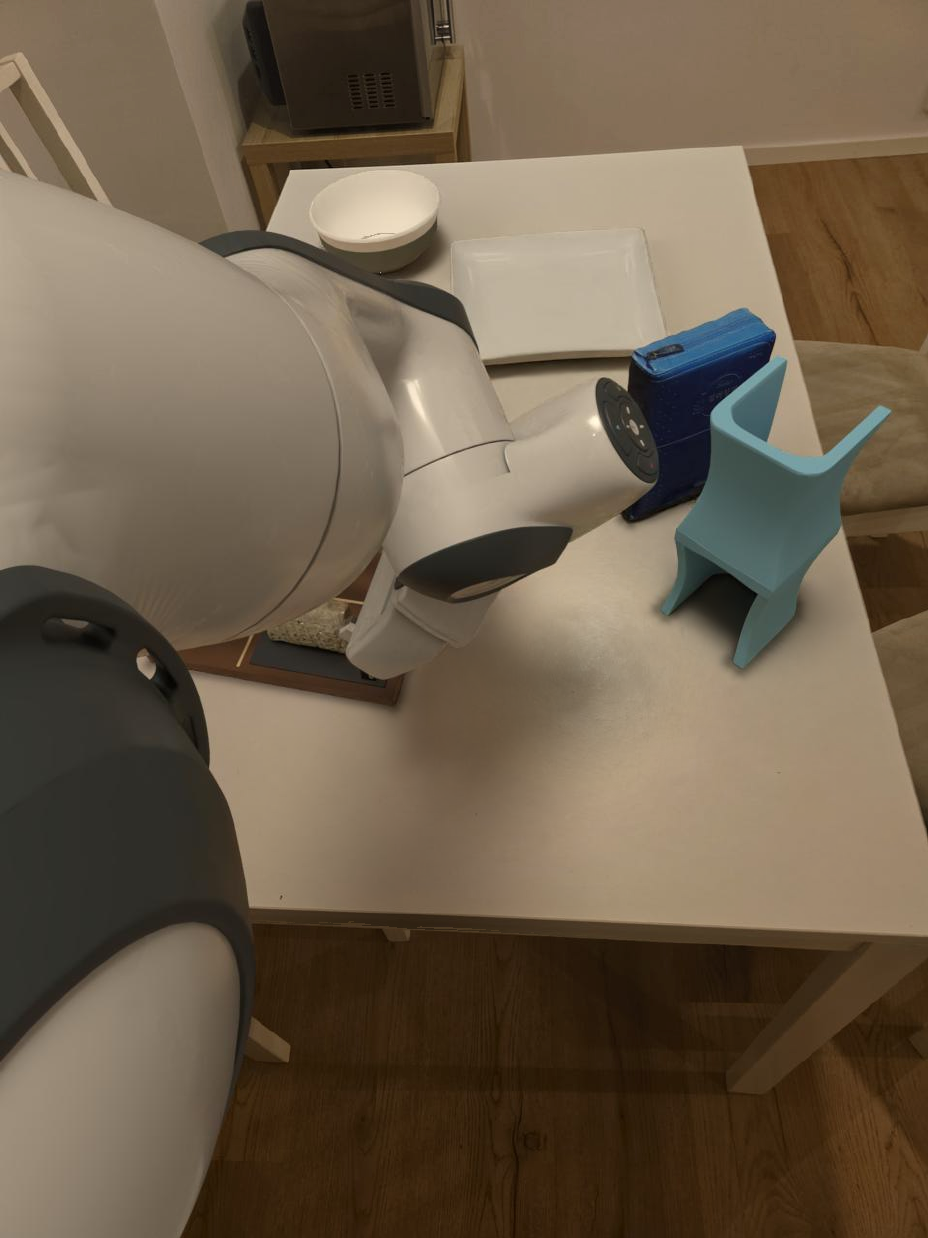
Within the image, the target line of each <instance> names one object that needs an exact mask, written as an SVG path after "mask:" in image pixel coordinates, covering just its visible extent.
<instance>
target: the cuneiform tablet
mask: <svg viewBox="0 0 928 1238" xmlns="http://www.w3.org/2000/svg"><path fill="white" fill-rule="evenodd" d="M351 615H353V613H352V611H351V608H350V605H349V604H348V603H347V602H341V601H338V600H335V599H331V600H330V601H328V602H327V603H325V604H323V605H322V606H320V607H318V608H316V609H314V610H312V611H310V612H308V613H306V614H304V615H302V616H300V617H298V618H296V619H293V620H291V621H289V622H286V623H284V624H282V625H279V626H276V627H274V628H271V629H268V630H267V633H268V636H269V638H270V639H271V640H275V641H279V640H281V641H285V642H290V643H293V644H298V645H306V646H313V647H320V648H322V649H328V650H331V651H338V652H340V653H344V654H346V653H345V652H346V648H347V645H348V643H349V642H347V641H346V640H344V639H342V638H341V637H340V636H339V632H340V629H341V627H342V624H343V622H344V619H347V618H348V617H349V616H351ZM360 673H361V679H367V680H372V681H376V678H375V677H373V676H371V675H369V674H367V673H366V672H364V671H362V670H361V669H360Z"/></svg>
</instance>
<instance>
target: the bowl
mask: <svg viewBox="0 0 928 1238" xmlns="http://www.w3.org/2000/svg"><path fill="white" fill-rule="evenodd" d="M441 203H442V200H441V194H440V191H439V189H438V187H437V185H436V184H435V183H433V181H431V180H430V179H429V178H427V177H426V176H424V175H422V174H419V173H417V172H412V171H410V170H409V171H408V170H404V169H403V170H402V169H373V170H366V171H362V172H361V171H360V172H357V173H354V174H351V175H348V176H345V177H342V178H341V179H337V180H336V181H334V182H332V183H330V184H328V185H327V186H326V187H324V188H323V189H322V190H321V191H319V192H318V194H317V195H316V196H315V197H314V199H313V200H312V202H311V204H310V205H309V210H308V218H309V222H310V224H311V225H312V227H313V228H314V230H315V231H316V232H317V234H318V237H319V240H320V243H321V245H322V247H323V248H324V251H326V252H329V253H331V254H333V255H335V256H337V257H339V258H341V259H344V260H346V261H348V262H350V263H352V264H354V265H356V266H359V267H361V268H363V269H365V270H367V271H369V272H371V273H373V274H376V275H388V274H392V273H395V272H398V271H400V270H402V269H403V268H405V267H407V266H408V265H409V264H411V263H413V262H414V261H416V260H417V259H418V258H419V257H420V256H421V255H422V254H423V253H424V252H425V251H426V250H427V249H428V248H429V246H430V245H431V243H432V242H433V240H434V237H435V235H436V232H437V229H438V214H439V209H440V206H441ZM377 233H395V234H380V235H375V236H372V237H369V238H367V239H361V238H363V237H364V236H370V235H374V234H377ZM380 272H381V273H380Z"/></svg>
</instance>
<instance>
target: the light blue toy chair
mask: <svg viewBox="0 0 928 1238" xmlns="http://www.w3.org/2000/svg"><path fill="white" fill-rule="evenodd" d="M787 365H788V359H787V358H785V357H783V356H781V355H779V354H777V355H776V356H774V357H773V358H772V359H770V361H769V362H768V363H767V364H766V365H765V366H764V367H762V368H761V369H760V370H759V371H757V372H756V373H755V374H754V375H753V376H751V377H750V378H749V379H748V380H747V381H745V382H744V383H743V384H742V385H740V386H739V387H738V388H737V389H736V390H734V391H733V392H732V393H731V394H729V395H728V396H727V397H726V398H725V399H723V400H722V401H721V402H720V403H719V404H718V405H717V406H716V407H715V408H714V409H713V411H712V412H711V415H710V426H711V461H710V469H709V473H708V478H707V481H706V483H705V486H704V488H703V490H702V493H700V494H699V496H698V498H697V500H696V501H695V503H694V505H693V506H692V507H691V509H690V510H689V512H688V513H687V515H686V516H685V517H684V518H683V520H682V521H681V522H680V523H679V525H678V526H677V527H676V529H675V533H674V538H673V539H674V543H675V548H676V555H677V573H676V578H675V582H674V585H673V587H672V589H671V591H670V593H669V595H668V596H667V598H666V600H665V601H664V603H663V604H662V606H661V607H660V609H659V612H661V613H662V614H664V615H665V616H667V617H668V616H669V615H670V614H672V613H673V611H675V610H676V609H677V608H679V606H680V605H681V604H682V603H683V602H684V601H686V599H688V597H690V596H691V595H692V594H693V593H694V592H695V591H697V590H698V588H699V587H701V585H703V584H704V583H705V582H706V581H707V580H708V579H709V578H710V577H711V576H714V575H716V574H730V575H731V576H733V577H734V578H735V579H737V580H738V581H739V582H740V583H742V584H743V585H744V586H746V587H747V588H748V589H750V590H751V591H753V592H755V593H756V594H757V595H756V597H755V599H754V601H753V602H752V605H751V607H750V608H749V611H748V613H747V615H746V618H745V620H744V623H743V626H742V629H741V632H740V635H739V638H738V642H737V645H736V649H735V654H734V657H733V660H732V663H733V664H734V665H736V666H737V667H739V668H740V669H741V670H744V669H745V668H746V667H747V666H748V665H749V664H750V662H751V661H752V660H754V658H755V657H756V656H758V655H759V654H760V652H761V651H762V650H763V649H764V648H766V646H767V645H769V643H770V642H771V641H772V640H773V639H774V638H775V637H776V636H777V635H778V634H779V633H780V632H781V631H783V629H784V628H785V627H786V626H787V625H788V624H789V623H790V622H791V620H792V619H793V618H794V616H795V614H796V610H797V603H798V596H799V592H800V588H801V585H802V582H803V580H804V577H805V576H806V574H807V572H808V570H809V569H810V567H811V566H812V565H813V563H814V562H815V561H816V559H817V558H818V557H819V556H820V555H821V553H822V552H823V551H824V550H825V548H826V547H827V546H828V545H829V544H830V543H831V542H832V541H833V540H834V538H835V537H836V536H837V535H838V534H839V532H840V529H841V527H842V525H843V523H842V516H841V515H842V513H841V494H842V487H843V485H844V482H845V478H846V475H847V474H848V472H849V471H850V468H851V466H852V465H853V463H854V461H855V460H856V459H857V457H858V455H859V454H860V452H861V451H862V450H863V448H864V447H865V446H866V445H867V444H868V442H869V440H870V439H871V438H872V437H873V436H874V435H875V433H876V432H877V431H878V430H879V428H880V427H881V426H882V425H883V424H884V423H885V421H886V420H887V419H888V418H890V416H891V414H892V412H893V410H891V409H889V408H887V407H885V406H883V405H881V404H880V405H878V406H876V408H875V409H874V410H872V411H871V412H870V413H869V414H868V415H867V416H866V417H865V418H864V419H863V420H862V421H860V423H858V424H857V425H856V426H855V427H854V428H853V429H852V430H851V431H849V432H848V434H847V435H845V436H844V437H843V438H842V439H841V440H840V441H839V442H838V443H837V444H836V445H835V446H833V448H831V449H830V450H829V451H828V452H826V453H825V454H824V455H821V456H802V455H796V454H792V453H789V452H786V451H784V450H782V449H780V448H778V447H777V446H774V445H773V444H770V443H768V440H769V437H770V434H771V431H772V426H773V423H774V419H775V416H776V412H777V408H778V405H779V401H780V397H781V393H782V388H783V384H784V380H785V376H786V371H787Z"/></svg>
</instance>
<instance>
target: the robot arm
mask: <svg viewBox="0 0 928 1238" xmlns="http://www.w3.org/2000/svg"><path fill="white" fill-rule="evenodd" d="M658 475H659V459H658V450H657V447H656V444H655V442H654V439H653V436H652V434H651V431H650V429H649V427H648V424H647V422H646V420H645V418H644V416H643V414H642V412H641V410H640V408H639V406H638V404H637V403H635V401H634V400H633V399H632V397H631V396H630V394H629V393H628V392H627V390H626V389H625V387H623V386H622V385H620V384H619V383H617V382H616V381H615V380H614V379H612V378H609V377H607V376H602V375H600V376H596V377H593V378H590V379H588V380H585V381H582V382H580V383H578V384H576V385H574V386H572V387H570V388H568V389H566V390H564V391H562V392H560V393H558V394H556V395H553V396H552V397H550V398H548V399H546V400H545V401H543V402H541V403H539V404H537V405H536V406H534V407H533V408H531V409H529V410H528V411H525V412H524V413H523V414H521V415H519V416H518V417H517V418H515V419H513V420H512V421H510V422H509V421H508V419H507V416H506V414H505V410H504V409H503V406H502V404H501V402H500V400H499V397H498V395H497V393H496V390H495V388H494V385H493V382H492V381H491V379H490V376H489V373H488V372H487V369H486V367H485V365H484V364H483V362H482V360H481V357H480V353H479V349H478V345H477V342H476V339H475V336H474V334H473V331H472V328H471V325H470V322H469V319H468V316H467V313H466V311H465V308H464V306H463V304H462V302H461V301H460V300H459V299H458V298H457V297H455V296H454V295H452V294H451V292H449V291H446V290H444V289H442V288H439V287H437V286H435V285H433V284H429V283H426V282H422V281H418V280H412V279H388V278H385V277H383V276H380V275H379V274H373V273H371V272H369V271H367V270H365V269H363V268H361V267H359V266H356V265H354V264H352V263H350V262H348V261H346V260H344V259H341V258H339V257H337V256H335V255H333V254H331V253H329V252H327V251H326V250H325V249H322V248H320V247H318V246H315V245H313V244H310V243H308V242H306V241H303V240H301V239H297V238H295V237H292V236H288V235H285V234H282V233H279V232H278V233H277V232H275V231H274V232H273V231H267V230H258V229H244V230H235V231H230V232H229V231H228V232H224V233H221V234H217V235H214V236H212V237H209V238H206V239H204V240H202V241H200V242H198V243H197V242H195V241H193V240H190V239H188V238H187V237H184V236H182V235H180V234H177V233H175V232H173V231H171V230H169V229H167V228H164V227H162V226H160V225H158V224H155V223H154V222H152V221H149V220H146V219H144V218H141V217H140V216H137V215H134V214H132V213H130V212H127V211H125V210H121V209H119V208H116V207H114V206H111V205H108V204H106V203H103V202H101V201H98V200H95V199H93V198H91V197H88V196H85V195H82V194H81V193H78V192H75V191H72V190H69V189H66V188H63V187H60V186H57V185H54V184H51V183H48V182H44V181H41V180H38V179H35V178H32V177H28V176H25V175H22V174H20V173H16V172H14V171H10V170H7V169H5V168H4V169H3V168H0V1238H181V1237H182V1234H183V1232H184V1230H185V1227H186V1226H187V1223H188V1221H189V1219H190V1216H191V1214H192V1212H193V1209H194V1207H195V1205H196V1202H197V1200H198V1197H199V1194H200V1192H201V1189H202V1187H203V1185H204V1182H205V1179H206V1176H207V1173H208V1170H209V1167H210V1164H211V1161H212V1159H213V1156H214V1151H215V1147H216V1145H217V1140H218V1138H219V1135H220V1133H221V1130H222V1127H223V1124H224V1121H225V1118H226V1115H227V1112H228V1109H229V1107H230V1104H231V1101H232V1098H233V1095H234V1092H235V1089H236V1085H237V1081H238V1077H239V1074H240V1072H241V1067H242V1064H243V1061H244V1057H245V1052H246V1047H247V1044H248V1039H249V1034H250V1030H251V1029H250V1028H251V1024H252V1017H253V1011H254V1004H255V996H256V995H255V994H256V981H257V980H256V979H257V977H256V976H257V964H256V963H257V962H256V952H255V942H254V932H253V931H254V930H253V923H252V916H251V910H250V903H249V895H248V889H247V880H246V876H245V870H244V865H243V860H242V859H243V858H242V854H241V851H240V845H239V841H238V835H237V830H236V826H235V825H236V824H235V821H234V817H233V815H232V810H231V808H230V805H229V802H228V800H227V798H226V796H225V794H224V792H223V790H222V788H221V787H220V785H219V783H218V781H217V779H216V778H215V776H214V774H213V773H212V771H211V769H210V764H211V748H210V738H209V737H210V736H209V731H208V725H207V719H206V714H205V711H204V707H203V703H202V701H201V700H202V699H201V696H200V694H199V691H198V689H197V686H196V684H195V680H194V679H193V677H192V675H191V672H190V669H187V667H186V665H185V664H184V662H183V660H182V658H181V657H180V656H179V654H178V653H177V651H179V650H185V649H191V648H196V647H201V646H207V645H213V644H218V643H223V642H227V641H232V640H235V639H239V638H243V637H247V636H250V635H253V634H257V633H260V632H263V631H266V630H268V629H271V628H274V627H276V626H279V625H282V624H284V623H286V622H289V621H291V620H293V619H296V618H298V617H300V616H302V615H304V614H306V613H308V612H310V611H312V610H314V609H316V608H318V607H320V606H322V605H323V604H325V603H327V602H328V601H330V600H331V599H333V598H334V597H336V596H337V595H339V594H340V593H341V592H342V591H343V590H345V589H346V588H347V587H348V586H349V585H350V584H351V583H352V582H353V581H354V580H355V579H357V577H358V576H359V575H360V574H361V573H362V572H363V571H364V570H365V568H366V567H367V566H368V564H369V563H370V562H371V561H372V559H373V558H374V556H375V555H376V553H377V552H378V551H379V552H380V553H381V554H382V555H381V558H380V561H379V563H378V566H377V569H376V571H375V574H374V577H373V579H372V582H371V585H370V587H369V590H368V593H367V595H366V598H365V601H364V603H363V606H362V609H361V611H360V614H359V617H357V616H355V615H351V616H349V617H348V618H347V619H344V622H343V624H342V627H341V629H340V632H339V636H340V637H341V638H342V639H344V640H346V641H347V642H349V643H348V645H347V648H346V652H345V653H346V656H347V658H348V660H349V661H350V662H351V663H352V664H353V665H355V666H356V667H357V668H359V669H361V670H362V671H364V672H366V673H367V674H369V675H371V676H373V677H375V678H378V679H382V680H385V679H390V678H393V677H396V676H398V675H401V674H403V673H405V674H406V673H408V672H410V671H412V670H414V669H416V668H418V667H420V666H422V665H424V664H426V663H428V662H429V661H431V660H433V659H434V658H435V657H437V656H438V655H439V654H440V653H441V652H442V651H443V649H444V648H445V647H446V645H447V644H449V645H451V646H452V647H455V648H462V647H464V646H467V645H468V644H470V643H471V642H472V641H473V640H474V639H475V638H476V636H477V634H478V632H479V630H480V628H481V626H482V624H483V622H484V619H485V618H486V616H487V614H488V612H489V611H490V608H491V607H492V605H493V603H494V602H495V600H496V598H497V597H498V596H499V594H500V592H501V591H502V590H505V589H506V588H508V587H510V586H512V585H514V584H516V583H517V582H520V581H521V580H523V579H525V578H527V577H529V576H531V575H533V574H535V573H538V572H539V571H541V570H545V569H546V568H549V567H551V566H553V565H555V564H556V563H557V562H558V560H559V559H560V557H561V555H562V554H563V553H564V552H565V549H566V548H567V546H568V545H569V544H570V543H571V542H574V541H575V540H578V539H579V538H582V537H583V536H585V535H587V534H589V533H591V532H592V531H594V530H595V529H598V528H599V527H601V526H602V525H604V524H606V523H608V521H611V519H613V518H615V517H616V516H618V515H619V514H621V512H622V511H623V510H625V509H626V508H627V507H629V506H630V505H632V504H633V503H635V502H636V501H637V500H638V499H640V498H641V497H642V496H643V495H645V494H646V493H647V492H648V491H649V490H650V489H651V488H652V487H653V486H654V485H655V484H656V482H657V479H658ZM149 655H150V656H151V658H152V659H153V661H154V662H155V663H154V664H155V670H154V672H153V673H154V674H153V675H152V677H151V678H149V677H147V676H146V674H144V673H143V671H141V670H140V669H139V666H138V659H139V658H143V657H147V656H149Z"/></svg>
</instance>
